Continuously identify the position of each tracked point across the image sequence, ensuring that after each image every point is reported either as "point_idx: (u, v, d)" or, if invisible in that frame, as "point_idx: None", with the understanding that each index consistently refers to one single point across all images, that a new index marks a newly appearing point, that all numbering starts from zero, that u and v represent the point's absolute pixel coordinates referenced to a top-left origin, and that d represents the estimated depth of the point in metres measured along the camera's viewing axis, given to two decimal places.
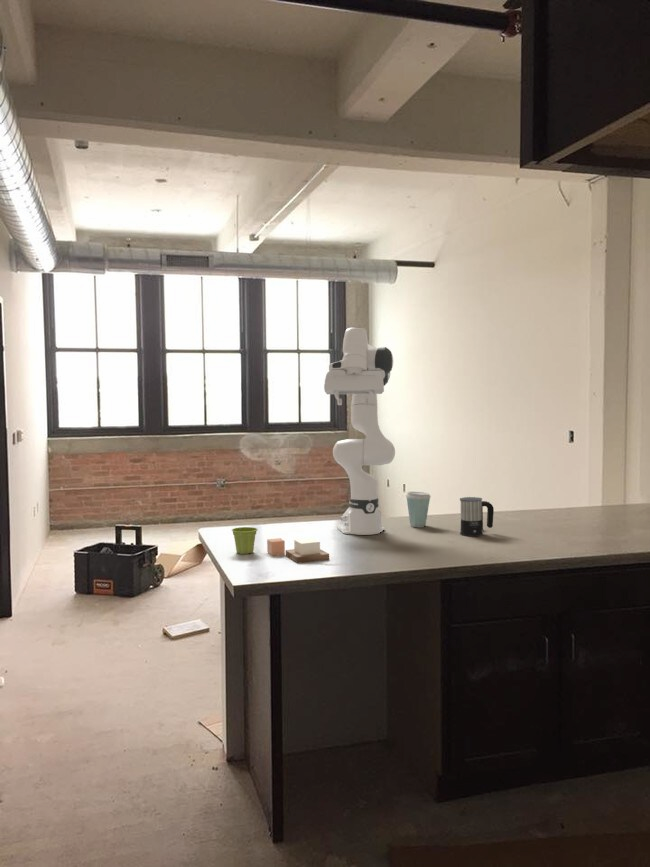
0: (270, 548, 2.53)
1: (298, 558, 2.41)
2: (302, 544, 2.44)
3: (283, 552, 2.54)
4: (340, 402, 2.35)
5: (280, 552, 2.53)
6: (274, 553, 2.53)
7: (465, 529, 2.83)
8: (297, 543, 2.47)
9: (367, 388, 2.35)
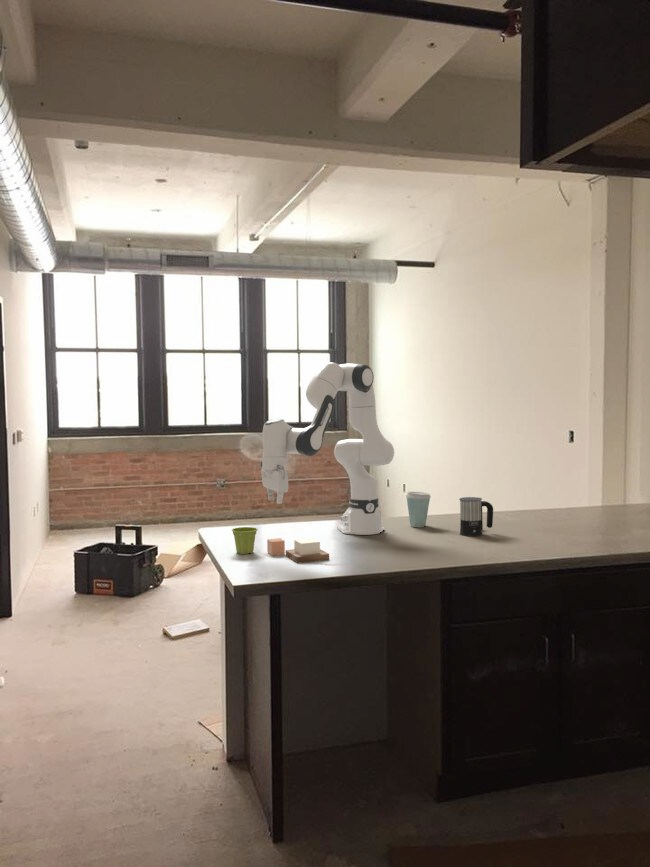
0: (270, 548, 2.53)
1: (298, 558, 2.41)
2: (302, 544, 2.44)
3: (283, 552, 2.54)
4: (269, 499, 2.58)
5: (280, 552, 2.53)
6: (274, 553, 2.53)
7: (465, 529, 2.83)
8: (297, 543, 2.47)
9: (274, 490, 2.49)
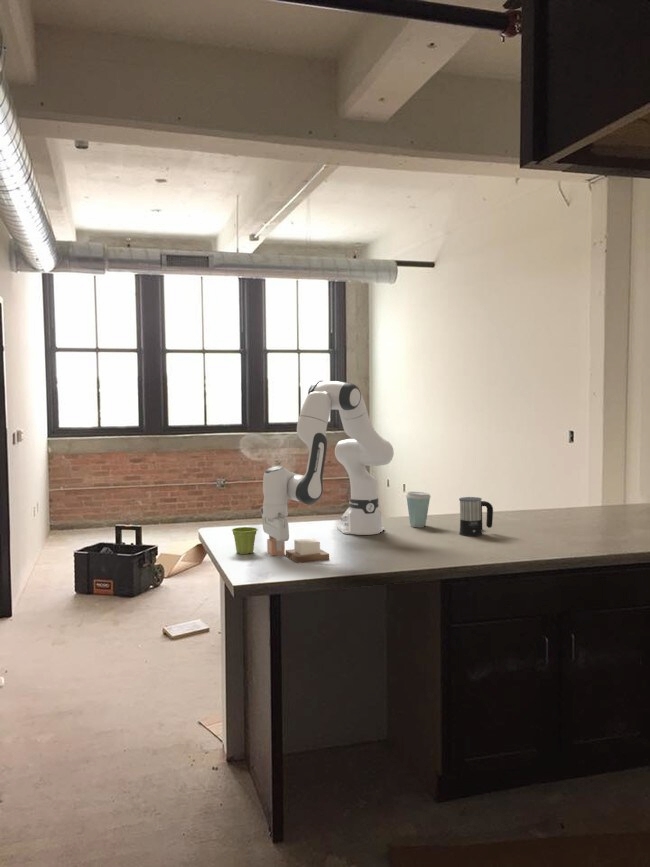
0: (270, 548, 2.53)
1: (298, 558, 2.41)
2: (302, 544, 2.44)
3: (283, 552, 2.54)
4: None
5: (280, 552, 2.53)
6: (274, 553, 2.53)
7: (465, 529, 2.84)
8: (297, 543, 2.47)
9: (275, 538, 2.50)
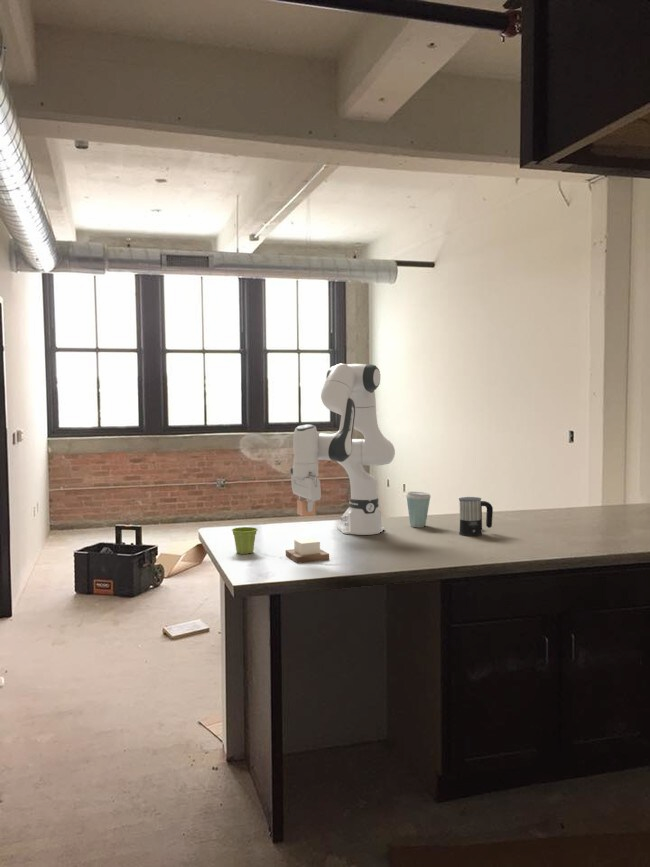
0: (300, 508, 2.45)
1: (298, 558, 2.41)
2: (302, 544, 2.44)
3: (314, 513, 2.46)
4: None
5: (310, 513, 2.45)
6: (305, 513, 2.45)
7: (464, 529, 2.84)
8: (297, 543, 2.47)
9: (306, 497, 2.42)
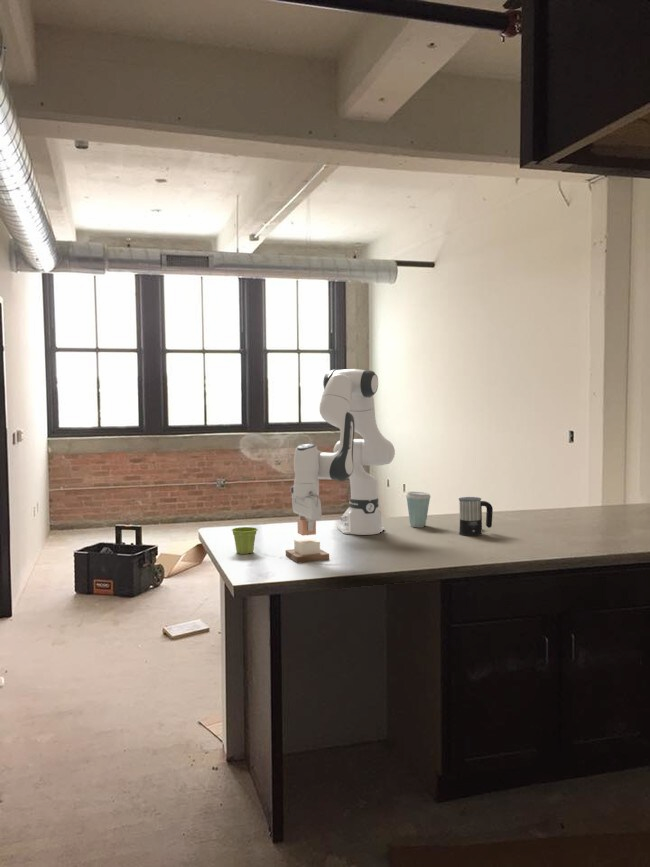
0: (301, 528, 2.45)
1: (298, 558, 2.41)
2: (302, 544, 2.44)
3: (314, 532, 2.46)
4: None
5: (311, 532, 2.46)
6: (305, 533, 2.45)
7: (464, 529, 2.84)
8: (297, 543, 2.47)
9: (306, 517, 2.42)
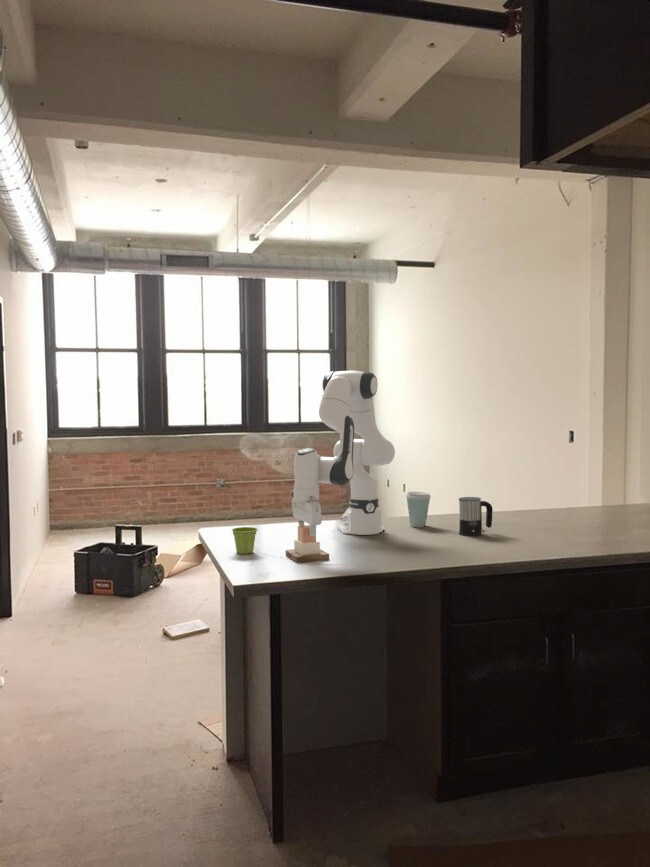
0: (301, 535, 2.46)
1: (298, 558, 2.41)
2: (302, 544, 2.44)
3: (314, 539, 2.46)
4: None
5: (311, 539, 2.46)
6: (305, 540, 2.45)
7: (464, 529, 2.84)
8: (297, 543, 2.47)
9: (306, 522, 2.43)
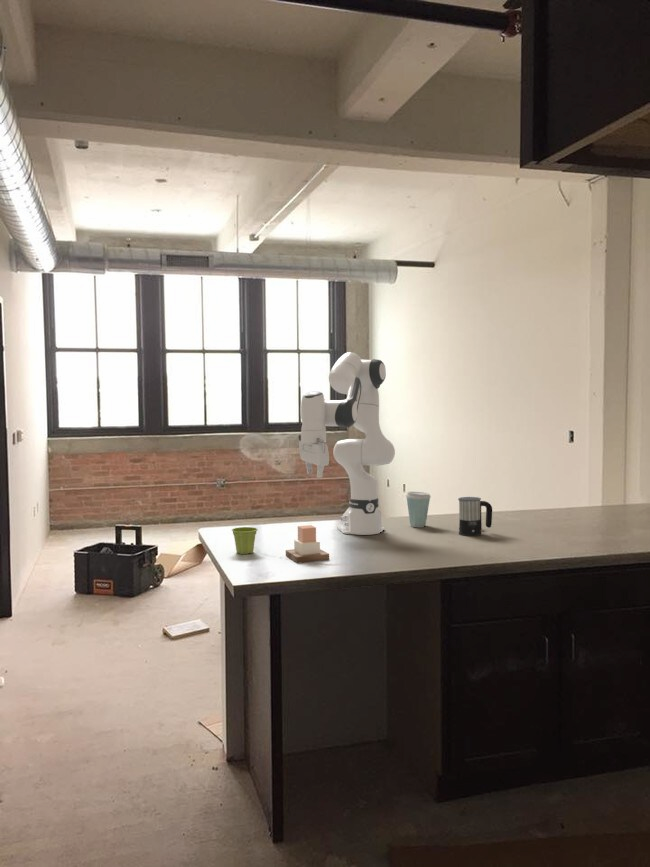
0: (301, 535, 2.46)
1: (298, 558, 2.41)
2: (302, 544, 2.44)
3: (314, 539, 2.46)
4: (308, 473, 2.56)
5: (311, 539, 2.46)
6: (305, 540, 2.45)
7: (464, 529, 2.84)
8: (297, 543, 2.47)
9: (314, 463, 2.47)
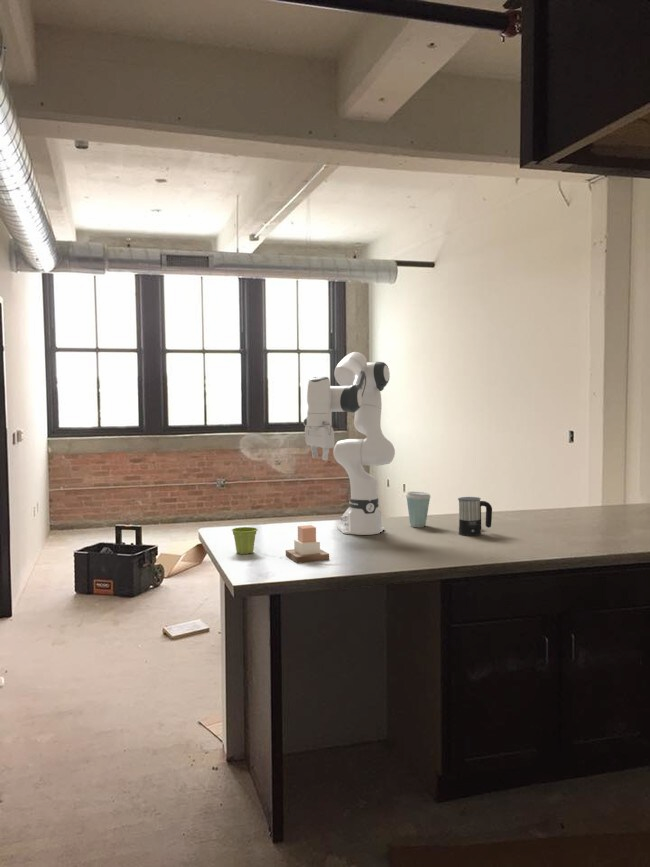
0: (301, 535, 2.46)
1: (298, 558, 2.41)
2: (302, 544, 2.44)
3: (314, 539, 2.46)
4: (313, 457, 2.60)
5: (311, 539, 2.46)
6: (305, 540, 2.45)
7: (464, 529, 2.84)
8: (297, 543, 2.47)
9: (320, 446, 2.51)
